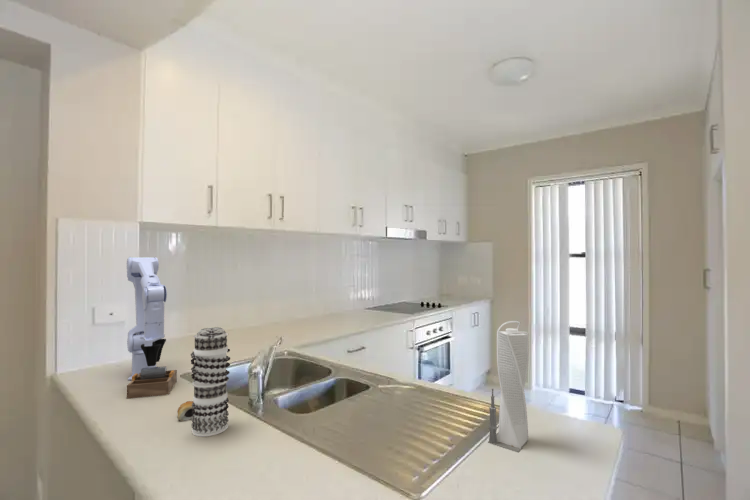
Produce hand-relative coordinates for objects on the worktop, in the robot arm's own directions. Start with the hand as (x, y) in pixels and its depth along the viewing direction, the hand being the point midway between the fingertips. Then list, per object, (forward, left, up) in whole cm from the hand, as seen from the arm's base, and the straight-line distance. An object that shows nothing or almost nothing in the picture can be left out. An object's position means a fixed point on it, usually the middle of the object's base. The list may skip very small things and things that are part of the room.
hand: (153, 363), depth 124 cm
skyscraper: (+66, +89, -9) cm, 111 cm away
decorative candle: (+37, +21, -9) cm, 43 cm away
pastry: (+26, +15, -9) cm, 31 cm away
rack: (0, 0, -8) cm, 8 cm away
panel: (0, 0, -7) cm, 7 cm away
